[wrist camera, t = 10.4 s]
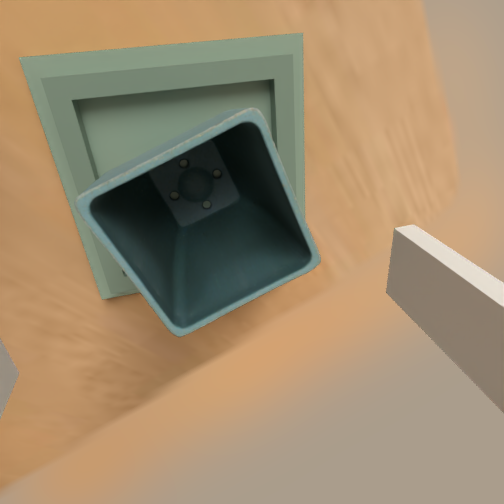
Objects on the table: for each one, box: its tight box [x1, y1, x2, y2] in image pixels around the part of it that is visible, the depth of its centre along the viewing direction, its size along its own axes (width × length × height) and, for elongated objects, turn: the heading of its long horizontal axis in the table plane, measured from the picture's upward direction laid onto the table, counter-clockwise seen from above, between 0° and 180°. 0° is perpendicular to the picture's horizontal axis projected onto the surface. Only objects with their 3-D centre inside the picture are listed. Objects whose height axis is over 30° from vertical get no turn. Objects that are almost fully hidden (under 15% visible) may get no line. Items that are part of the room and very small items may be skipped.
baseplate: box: [19, 33, 305, 299], centre depth 25 cm, size 16×16×2 cm
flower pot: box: [74, 108, 321, 337], centre depth 21 cm, size 9×9×9 cm
